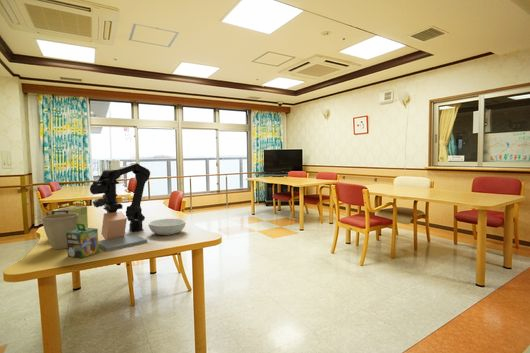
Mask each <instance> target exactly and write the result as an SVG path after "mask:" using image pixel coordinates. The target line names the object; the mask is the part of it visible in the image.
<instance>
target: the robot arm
mask: <svg viewBox="0 0 530 353" xmlns="http://www.w3.org/2000/svg"><path fill="white" fill-rule="evenodd" d="M131 172H132V173H133V174H135V175H134V178H135V180H136V183H135V186H134V187H135V188H134V192H133V196H132V200H131V203H130V205H127V207H126V210H125V217H126V218H127V221H128V222H129V224H128V227H129V232H132V233H136V232H141V231H144V229H143V222H144V221H145V218H146V217H145V215H144V214H143V213H142V210H143V209H142V207H141V203H142V199H143V194H144V189H145V186H146V183H147V181H149V178H150V176H151V171H150V169H148V168H146V167H144V166H142V165H140V164H139V163H137V162H136V163H135V162H134V163H133V162H132V163H129V164H126V165H124V166H121V167H118V168H114V169H105V170H103V171H102V173H101V175H100V176H99V178H98V180H97V181H92V184H91V185H90V187H89V191H90V193H91V195H101V194H102V197H100V198H98V199H95V200H93V201H92V204H93V206H94V208H100V207H103V209H104V210H105V211H106V213H112V212H118V210H121V209H122V210H123V207H124V206H123V204H122V203H121V202H118V201H117V197H118V193H117V185H119V184H120V182H119V181H117V180H118V179H119V178H120V177H121V176H123V175H126V174H128V173H131Z"/></svg>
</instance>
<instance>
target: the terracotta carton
mask: <svg viewBox="0 0 530 353" xmlns="http://www.w3.org/2000/svg"><path fill="white" fill-rule="evenodd" d="M127 221H128V219H127V216H126V214H124V212H123V211H117V212H112V213H107V212H106V213H103V218H102V225H101V226H102V227H101V235H102V238H103V240H107V239H112V238H118V237H123V236H126V235H125V233H126V226H127Z"/></svg>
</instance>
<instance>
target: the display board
mask: <svg viewBox="0 0 530 353" xmlns="http://www.w3.org/2000/svg"><path fill="white" fill-rule="evenodd" d="M146 243H148V239H147V238H144V237H142V236H140V235H137V234H135V233H134V234H129V235H124V236H123V237H118V238H112V239H107V240H105V239H102V240H98V244H99V248H101V249H102V250H104V251H106V252H109V251H113V250H118V249H124V248H128V247H133V246H137V245H141V244H142V245H143V244H146Z"/></svg>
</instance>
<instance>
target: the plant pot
mask: <svg viewBox="0 0 530 353" xmlns="http://www.w3.org/2000/svg"><path fill="white" fill-rule="evenodd" d="M77 220H78V214H76V213H65V214H54V215H52V214H49V215H45V216H42V217H41V221H42V226H43V231H44V232H45V233H44V234H45V235H46V237H47V239H48V243H49V244H50V246H51V248H52V249H53V250H61V249H67V235H66V233H67V232H69V231H73V230H76V226H77V225H76V223H77Z"/></svg>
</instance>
